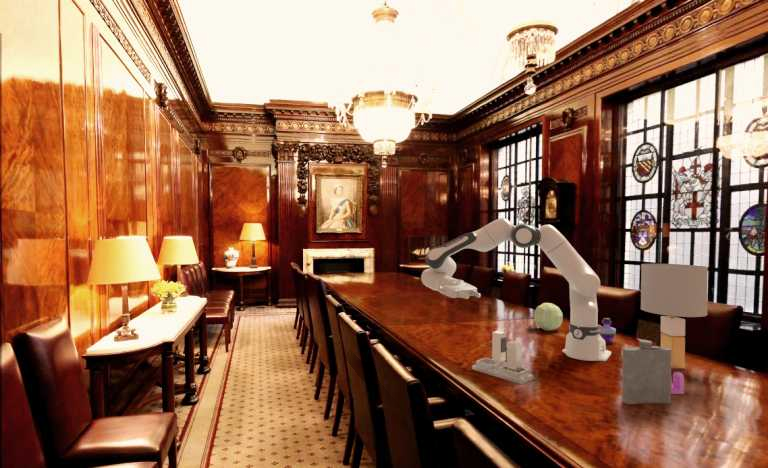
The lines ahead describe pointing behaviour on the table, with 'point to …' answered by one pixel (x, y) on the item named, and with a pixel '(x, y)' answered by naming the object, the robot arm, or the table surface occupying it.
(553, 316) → the decorative sphere
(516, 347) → the pillar on stepped tray
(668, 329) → the lamp
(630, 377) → the hip flask
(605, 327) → the potion bottle
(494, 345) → the loose rectangular block
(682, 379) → the bracket
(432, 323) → the table surface
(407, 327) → the table surface
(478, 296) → the robot arm
